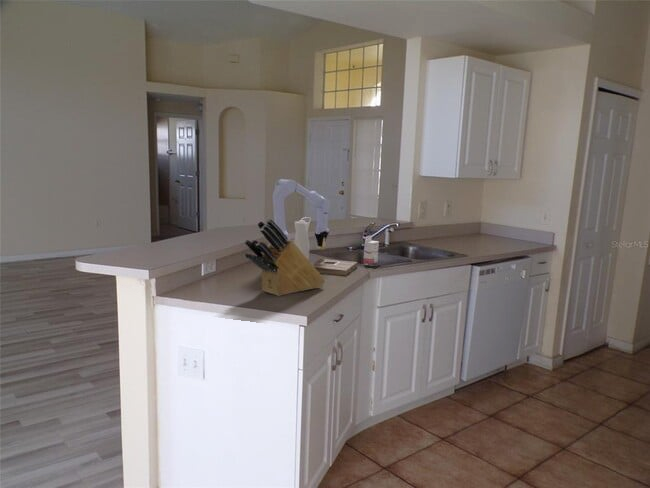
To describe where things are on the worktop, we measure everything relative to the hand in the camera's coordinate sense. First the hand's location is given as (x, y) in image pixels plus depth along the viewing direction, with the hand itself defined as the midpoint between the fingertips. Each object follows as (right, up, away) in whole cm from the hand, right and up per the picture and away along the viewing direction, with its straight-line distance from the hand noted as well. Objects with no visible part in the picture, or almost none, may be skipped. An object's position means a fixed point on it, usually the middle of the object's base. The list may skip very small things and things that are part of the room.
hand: (321, 245), depth 268 cm
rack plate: (+6, -12, -16) cm, 21 cm away
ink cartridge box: (+27, -10, +5) cm, 29 cm away
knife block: (-15, -19, -62) cm, 66 cm away
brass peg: (0, -2, 0) cm, 2 cm away
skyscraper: (-10, -15, -35) cm, 39 cm away
